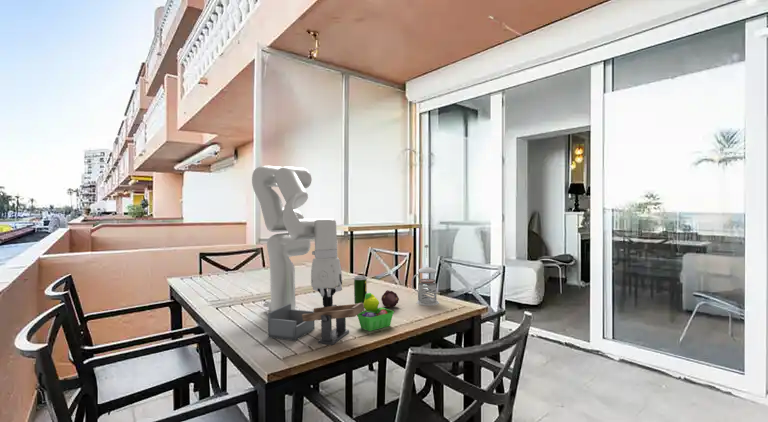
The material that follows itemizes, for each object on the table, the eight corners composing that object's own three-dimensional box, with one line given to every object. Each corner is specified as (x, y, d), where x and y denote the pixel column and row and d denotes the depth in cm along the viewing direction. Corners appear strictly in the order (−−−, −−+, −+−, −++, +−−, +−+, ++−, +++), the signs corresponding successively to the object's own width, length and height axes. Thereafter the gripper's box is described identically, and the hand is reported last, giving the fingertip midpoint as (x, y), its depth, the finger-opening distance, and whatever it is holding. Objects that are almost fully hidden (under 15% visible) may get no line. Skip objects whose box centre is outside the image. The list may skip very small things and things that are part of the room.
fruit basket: (367, 333, 122) (367, 299, 122) (353, 326, 129) (353, 294, 129) (395, 326, 128) (394, 293, 128) (380, 320, 136) (379, 289, 136)
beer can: (355, 306, 155) (354, 277, 155) (353, 303, 160) (353, 275, 160) (368, 305, 156) (367, 277, 156) (365, 302, 162) (365, 275, 162)
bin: (268, 337, 119) (267, 312, 119) (289, 326, 131) (289, 303, 130) (295, 340, 116) (294, 315, 116) (314, 328, 127) (314, 305, 127)
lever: (303, 321, 117) (301, 313, 117) (326, 308, 132) (325, 301, 132) (354, 316, 111) (353, 308, 112) (373, 303, 127) (372, 296, 127)
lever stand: (317, 343, 113) (316, 315, 113) (336, 330, 125) (335, 305, 125) (332, 345, 111) (331, 317, 111) (349, 331, 123) (349, 306, 123)
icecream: (404, 295, 147) (396, 290, 162) (386, 291, 146) (379, 287, 161) (400, 312, 146) (392, 306, 161) (382, 309, 145) (376, 303, 160)
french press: (441, 305, 155) (440, 245, 155) (413, 306, 154) (412, 246, 154) (436, 299, 165) (435, 243, 164) (410, 300, 164) (409, 243, 164)
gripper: (301, 255, 126) (303, 309, 126) (341, 255, 122) (343, 311, 121) (312, 253, 134) (314, 304, 133) (350, 253, 129) (352, 306, 129)
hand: (327, 307), depth 127 cm, fingers closed
